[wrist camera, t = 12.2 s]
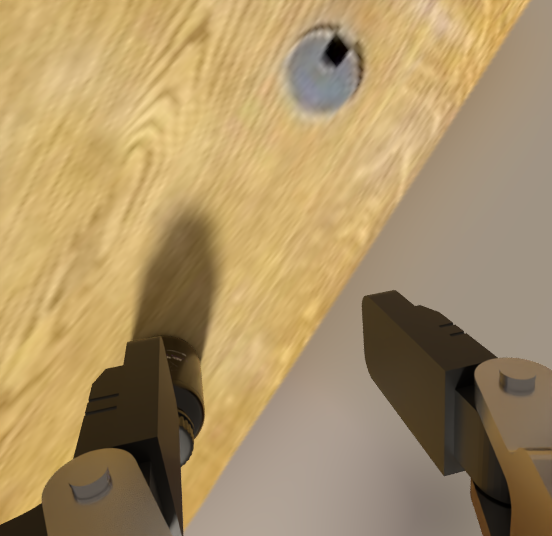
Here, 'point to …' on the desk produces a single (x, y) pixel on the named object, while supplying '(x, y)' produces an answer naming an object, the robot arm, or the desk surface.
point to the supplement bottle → (186, 391)
